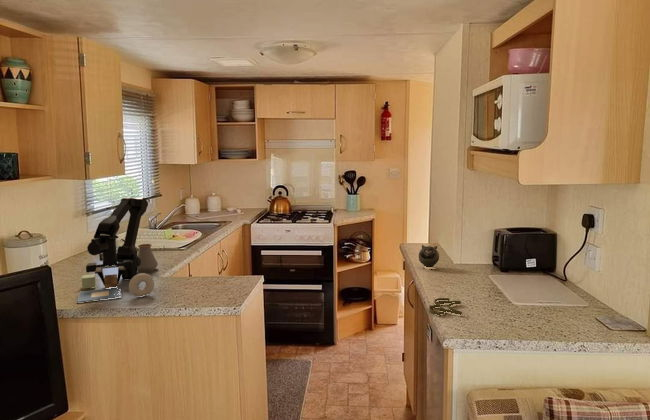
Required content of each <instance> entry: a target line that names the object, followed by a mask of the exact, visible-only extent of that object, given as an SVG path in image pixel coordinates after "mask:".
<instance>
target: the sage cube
mask: <svg viewBox="0 0 650 420" xmlns="http://www.w3.org/2000/svg"><path fill="white" fill-rule="evenodd" d="M96 280H97V279H96V274H95V273H94V274H93V273H92V274H86V275H85V274H84V275H82V276H81V287H82V289H81V290H85V289H84V288H90V289H93V288H92V287H95V286H97V282H96ZM95 288H96V287H95Z"/></svg>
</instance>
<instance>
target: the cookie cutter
mask: <svg viewBox="0 0 650 420" xmlns="http://www.w3.org/2000/svg"><path fill="white" fill-rule="evenodd" d="M437 300H448V301H440V302H438V303H437V302H436V301H437ZM433 302H434V303H435V304H436V305H434V303H433V305H429V306H428V309H429V310H428V311H429V313H430V314H432V315H434V314H437V315H440V314H444V312H446V311H447V312H451V313H455V314H460V315H461V314H462V315H463V311H460V310H457V309H455V308H453V307H452V308H451V307H450V306H451V305H453V304H460V303H461V304H462V301H461V300H450V298H449V297H438V298H435V299H434V301H433ZM452 302H455V303H452ZM444 303H451V304H449V305H448V309H447V308H444V307H441V306H440V304H444ZM435 307H440V308H439V309H438V310H435V309H434V310H432V309H433V308H435ZM449 309H450V310H449ZM451 310H452V311H451ZM439 311H443V312H439ZM437 315H436V316H437ZM434 316H435V315H434Z"/></svg>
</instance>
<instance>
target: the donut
mask: <svg viewBox="0 0 650 420" xmlns="http://www.w3.org/2000/svg"><path fill="white" fill-rule="evenodd" d="M143 282H144V283H145V287H143V288H139V287H138V285H139V283H143ZM154 288H155V280H154V279H153V277H152V276H151V275H150V274H148V273H146V272H139V273H137V275H135V276H134V277H133V278H132V279H131V280H130V281H129V284H128V289H129V292H130V293H131V295H133V296H134V297H136V296H143V295H147V294H149V295H150V294H151V293H152V292H153V290H154ZM147 296H148V295H147Z"/></svg>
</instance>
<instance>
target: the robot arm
mask: <svg viewBox="0 0 650 420" xmlns="http://www.w3.org/2000/svg"><path fill="white" fill-rule="evenodd" d="M148 205H149V202H148V200H147V199H146V198H145V197H125V196H123V197H122V198H121V199H120V202H119V203H118V205H116V208H115V209H114V210H113V211H112V212H111V214H110V215H109V216H108V217H105V218H103V219H102V220H101V221H100V222H99V223H98V225H97V227H96V231H95V233H94V235H93V238H91V242H89V243H88V245H87V247H86V249H87V252H88V253H89V255H91V256H97V255H98V257H99V262H102V264H97V262H90V263H89V262H88V263H87V264H86V266H85V273H94V274H95V275H96V274H97V275H98V277H99V279H100V280H101V282H102V284H103V286H104V287H105V280H104V277H105V274H104V270H105V269H110V268H112V269H113V268H114V269H115V268H117V284H118V285H119V283H120V279H122V280H123V279H132V278H133V277H134V276H135V275H137V274H138V270H137V266H140V264H141V259H140V258H139V257H138V256H137V255H138V250H137V249H136V242H137V239H138V233H139V229H140V222H141V220H142V219H141V218H142V217H143V215H144V214H145V213H146V212H147V208H148V207H149V206H148ZM128 212H129V217H128V218H129V220H128V223H127V226H126V232H125V237H124V240H125V241H123V244H122V245H120V246H118V248H117V239H119V236H118V235H117V233H118V232H119V230H120V228H121V226H120V223H121V221H122V220H123V218H124V217H125V216H126V215H127V213H128Z"/></svg>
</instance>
